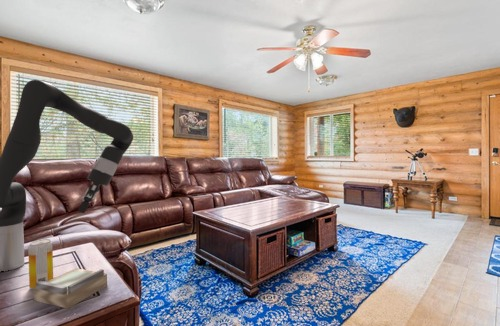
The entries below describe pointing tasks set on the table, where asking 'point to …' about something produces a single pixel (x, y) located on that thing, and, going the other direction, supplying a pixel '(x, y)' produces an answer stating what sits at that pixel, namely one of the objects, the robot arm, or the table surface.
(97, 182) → the robot arm
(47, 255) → the beer can
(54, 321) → the table surface
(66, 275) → the square tray
